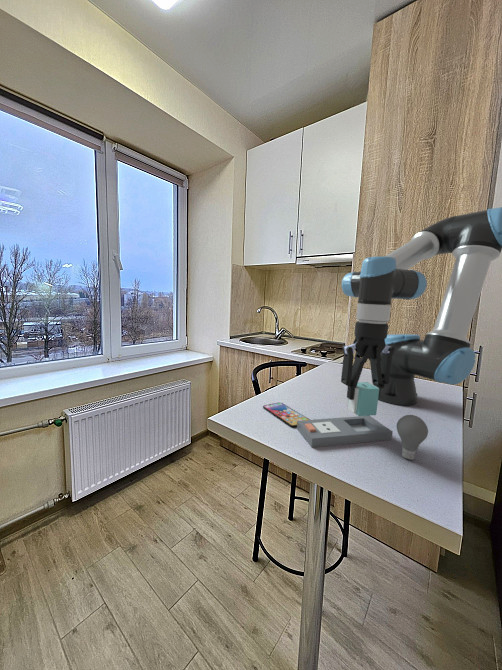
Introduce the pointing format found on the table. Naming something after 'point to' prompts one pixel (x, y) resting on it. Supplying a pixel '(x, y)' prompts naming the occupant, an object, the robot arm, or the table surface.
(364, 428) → the power strip
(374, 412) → the block
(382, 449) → the table surface
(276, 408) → the smartphone
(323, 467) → the table surface
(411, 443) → the light bulb
